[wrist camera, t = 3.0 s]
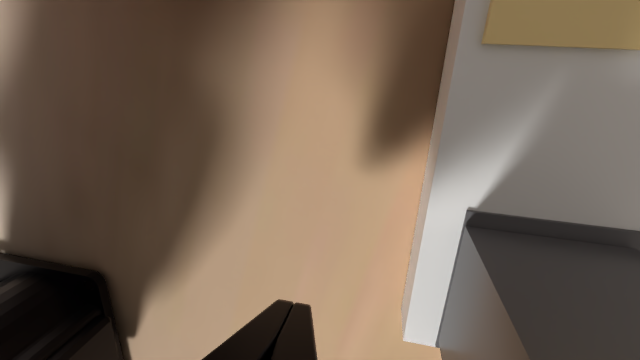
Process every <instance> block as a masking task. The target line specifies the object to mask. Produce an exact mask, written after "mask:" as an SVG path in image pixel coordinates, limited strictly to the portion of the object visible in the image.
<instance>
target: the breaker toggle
mask: <svg viewBox="0 0 640 360" xmlns="http://www.w3.org/2000/svg"><path fill="white" fill-rule="evenodd" d="M439 346H440V351H441V357H442V360H640V251H639V250H637V249H634V248H626V247H619V246H611V245H604V244H596V243H588V242H581V241H573V240H566V239H558V238H550V237H543V236H535V235H528V234H520V233H512V232H505V231H497V230H490V229H482V228H475V227H467V226H465V229H464V234H463V238H462V242H461V246H460V251H459V255H458V259H457V263H456V268H455V272H454V276H453V280H452V285H451V289H450V293H449V297H448V302H447V306H446V310H445V314H444V319H443V323H442V327H441V331H440V336H439Z"/></svg>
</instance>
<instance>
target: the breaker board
mask: <svg viewBox="0 0 640 360" xmlns="http://www.w3.org/2000/svg"><path fill="white" fill-rule="evenodd" d="M465 226H467V227H475V228H482V229H490V230H497V231H505V232H512V233H520V234H528V235H535V236H543V237H550V238H558V239H566V240H573V241H581V242H588V243H596V244H604V245H611V246H619V247H626V248H634V249H637V250H639V251H640V0H455V3H454V9H453V15H452V20H451V26H450V32H449V38H448V43H447V49H446V55H445V61H444V66H443V72H442V78H441V83H440V89H439V95H438V101H437V106H436V112H435V118H434V124H433V129H432V135H431V141H430V147H429V152H428V158H427V164H426V170H425V175H424V181H423V187H422V192H421V198H420V204H419V210H418V215H417V221H416V227H415V233H414V238H413V244H412V250H411V256H410V261H409V267H408V273H407V278H406V284H405V290H404V296H403V301H402V307H401V313H402V331H403V341H407V342H412V343H417V344H422V345H427V346H433V347H438V348H440V346H439V336H440V331H441V327H442V323H443V319H444V314H445V310H446V306H447V302H448V297H449V293H450V289H451V285H452V280H453V276H454V272H455V268H456V263H457V259H458V255H459V251H460V246H461V242H462V238H463V234H464V229H465Z"/></svg>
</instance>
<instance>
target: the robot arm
mask: <svg viewBox="0 0 640 360" xmlns="http://www.w3.org/2000/svg"><path fill="white" fill-rule="evenodd" d="M0 360H123V356H122V352H121V347H120V343H119V338H118V334H117V329H116V325H115V320H114V316H113V311H112V307H111V302H110V298H109V293H108V289H107V284H106V281H105V278H104V277H103V276H102V275H101V274H100V273H99V272H96V271H93V270H88V269H82V268H77V267H72V266H66V265H61V264H56V263H50V262H45V261H40V260H35V259H29V258H24V257H19V256H13V255H8V254H3V253H0ZM202 360H317V352H316V344H315V336H314V328H313V320H312V312H311V307H310V305H308V304H302V303H295V304H294V303H293V302H291V301H286V300H277V301H275V302H274V303H273V304H271V305H270V306H269V307H268V308H266V309H265V310H264V311H263V312H261V313H260V314H259V315H258V316H256V317H255V318H254V319H253V320H251V321H250V322H249V323H247V324H246V325H245V326H244V327H242V328H241V329H240V330H239V331H237V332H236V333H235V334H234V335H232V336H231V337H230V338H228V339H227V340H226V341H225V342H223V343H222V344H221V345H220V346H218V347H217V348H216V349H215V350H213V351H212V352H211V353H210V354H208V355H207V356H206V357H204V358H203V359H202Z"/></svg>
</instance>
